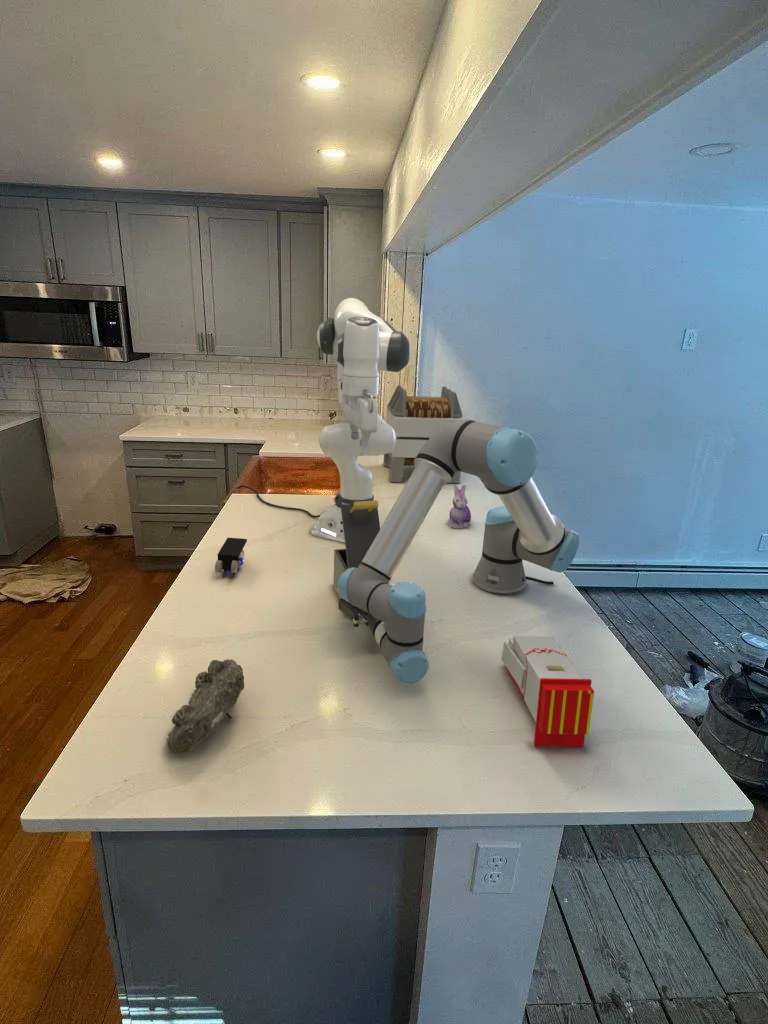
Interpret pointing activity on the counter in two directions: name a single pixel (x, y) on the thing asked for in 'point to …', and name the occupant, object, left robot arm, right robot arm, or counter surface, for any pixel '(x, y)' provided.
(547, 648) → the toy
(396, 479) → the transformer
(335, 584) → the chest
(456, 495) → the figurine
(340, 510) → the left robot arm
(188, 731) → the fossil
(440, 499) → the counter surface
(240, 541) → the figurine character
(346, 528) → the lid
